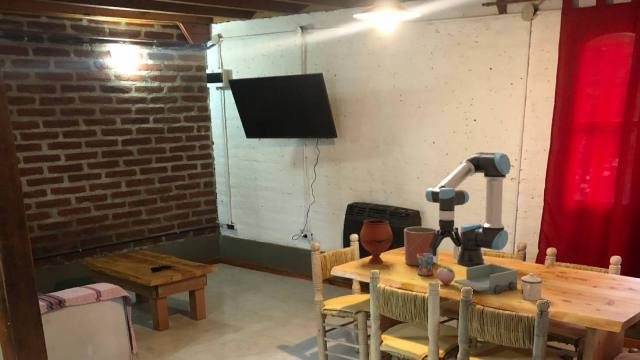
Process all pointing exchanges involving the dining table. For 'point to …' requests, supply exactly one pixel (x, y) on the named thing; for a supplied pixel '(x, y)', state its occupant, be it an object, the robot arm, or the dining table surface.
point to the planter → (417, 243)
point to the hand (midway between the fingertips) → (445, 260)
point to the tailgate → (471, 284)
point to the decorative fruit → (445, 275)
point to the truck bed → (493, 277)
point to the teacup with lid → (531, 287)
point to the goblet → (376, 238)
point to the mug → (425, 264)
